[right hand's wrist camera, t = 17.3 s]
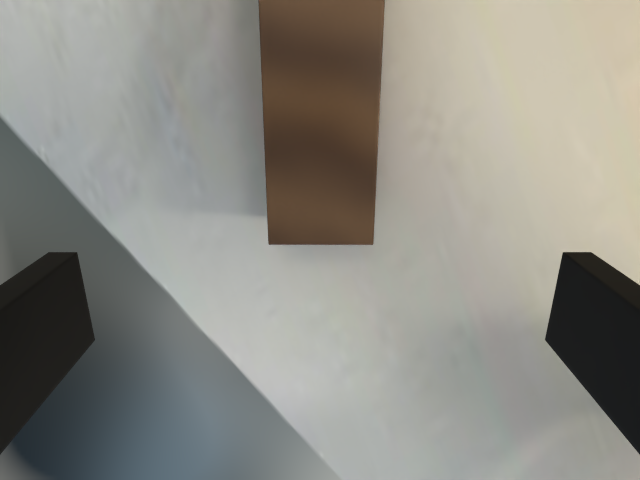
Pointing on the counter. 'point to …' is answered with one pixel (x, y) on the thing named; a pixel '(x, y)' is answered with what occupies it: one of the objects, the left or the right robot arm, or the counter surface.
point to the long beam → (321, 118)
